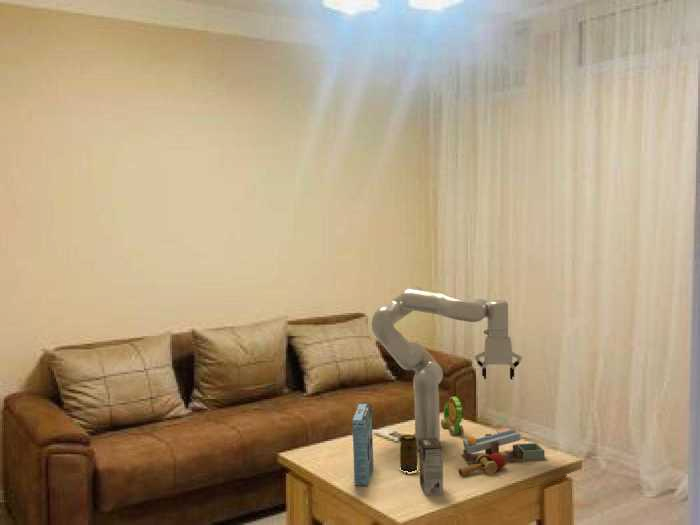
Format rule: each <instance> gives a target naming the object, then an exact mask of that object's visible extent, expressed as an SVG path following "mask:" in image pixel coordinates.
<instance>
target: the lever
mask: <svg viewBox="0 0 700 525" xmlns="http://www.w3.org/2000/svg"><path fill="white" fill-rule="evenodd" d="M475 439H476V441H477V444H476V445H474V446H469V443H468V442H467V440H466V438H465V439H462V444H463V448H464V449H463V450H466V451H467V453H468V454H475V453H479V452H481V451H485V450H486V449H490V448H492V441H498V442H499V447H501V446H504V445H508V444H512V443H515V442H519V441H522V439H521V435H520V433H517V432H516V430H515V428H512V429H511V428H509V427H505V428H501V429H498V430H496V433H494V434H492V435H489V436H482V437H478V438H475Z"/></svg>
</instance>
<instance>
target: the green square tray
mask: <svg viewBox="0 0 700 525" xmlns="http://www.w3.org/2000/svg"><path fill="white" fill-rule="evenodd" d="M515 445H518V446H519V448H520V449H521V457H522V458H523V460H524V461H523V462H525V461H527V462H528V460H530V461H543V460H542V459H544V460H545V449H544V448H543V447H541V445H539V444H538V443H537V442H534V443H533V442H532V443H530V442H529V443H516V444H515Z"/></svg>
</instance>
